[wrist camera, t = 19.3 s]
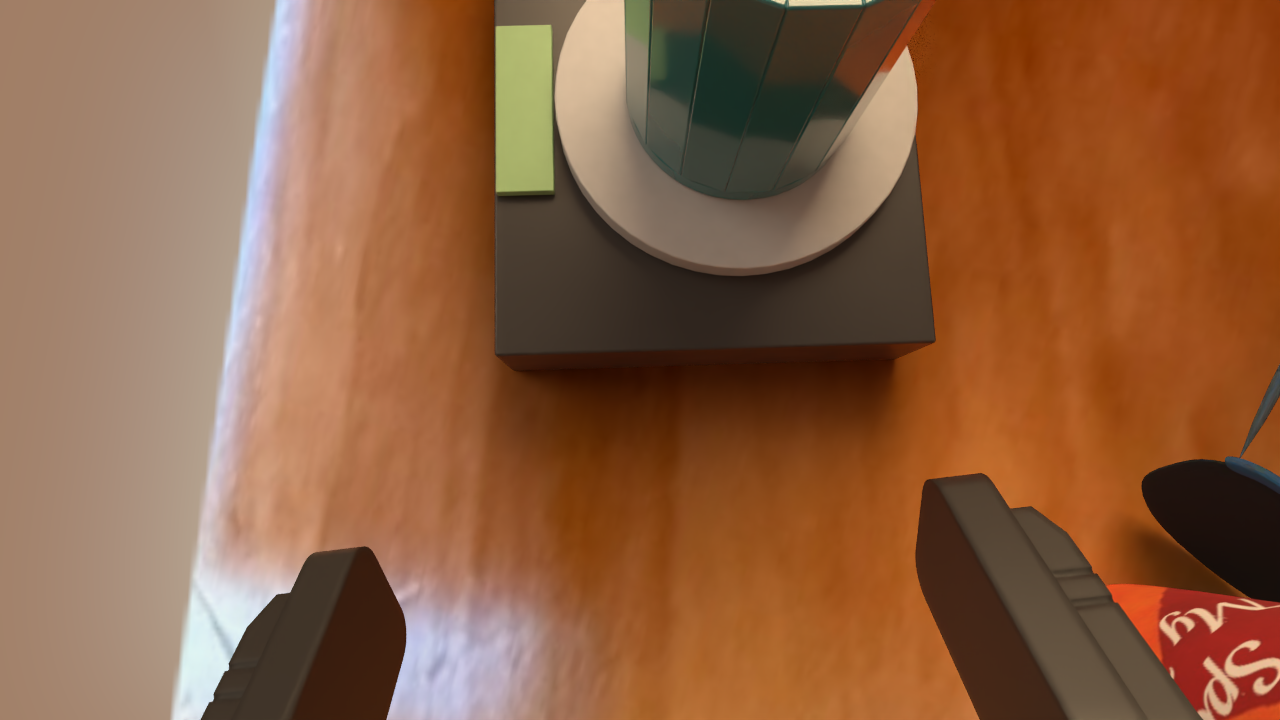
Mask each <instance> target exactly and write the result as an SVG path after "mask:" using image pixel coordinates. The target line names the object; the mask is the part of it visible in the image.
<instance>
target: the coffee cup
mask: <svg viewBox="0 0 1280 720" xmlns="http://www.w3.org/2000/svg"><path fill="white" fill-rule="evenodd" d="M1105 586H1106V587H1107V588H1108V590H1109V591H1110V593H1111V594H1112V599H1113V601H1114V602H1115V603H1117V602H1118V604H1119V605H1120V606H1121V608H1122V609H1123V610H1124V612H1125V613H1126V615H1127V616H1128V617H1129V619H1130V620H1131V622H1132V623H1133V624H1134V626H1135V627H1136V628H1137V630H1138V631H1139V633H1140V634H1141V635H1142V637H1143V638H1144V639H1145V641H1146V642H1147V644H1148V645H1149V646H1150V648H1151V649H1152V650H1153V652H1154V653H1155V655H1156V656H1157V657H1158V659H1159V660H1160V662H1161V663H1162V664H1163V666H1164V667H1165V668H1166V670H1167V671H1168V673H1169V674H1170V675H1171V677H1172V678H1173V679H1174V681H1175V682H1176V684H1177V685H1178V686H1179V688H1180V689H1181V690H1182V692H1183V693H1184V695H1185V696H1186V697H1187V699H1188V700H1189V702H1190V703H1191V704H1192V706H1193V707H1194V708H1195V710H1196V711H1197V713H1198V714H1199V715H1200V716H1201V717H1202V719H1203V720H1280V603H1278V602H1271V601H1264V600H1257V599H1250V598H1243V597H1235V596H1228V595H1221V594H1214V593H1206V592H1199V591H1192V590H1185V589H1176V588H1168V587H1159V586H1151V585H1138V584H1112V585H1105Z"/></svg>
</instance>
